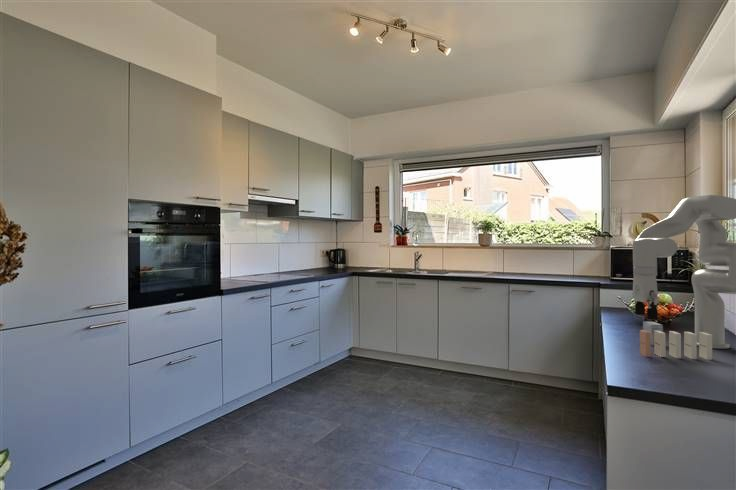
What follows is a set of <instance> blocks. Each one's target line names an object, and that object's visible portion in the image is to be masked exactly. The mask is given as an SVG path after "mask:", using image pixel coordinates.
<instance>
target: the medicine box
mask: <svg viewBox="0 0 736 490" xmlns="http://www.w3.org/2000/svg"><path fill="white" fill-rule="evenodd" d="M642 330H645V331H648V332H650V346H654V331H661V332H664V326H663V324H661V323H658V322H655V321H642Z"/></svg>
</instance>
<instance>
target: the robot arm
mask: <svg viewBox="0 0 736 490" xmlns="http://www.w3.org/2000/svg"><path fill="white" fill-rule="evenodd" d="M730 220H731V221H732V220H736V198H735V197H731V196H730V197H729V196H724V195H723V196H722V195H718V194H717V195H716V194H706V195H697V196H688V197H684V198H683V199H681V201H679V203H678V204H677V205H676V206H675V207H674V208H673V210H672V211H671V212H670V213H669V214H668V216H667V217H665V218H664V219H662V220H660V221H658V222H655V223H654V224H651V225H649V227H646V228H645V229H643V230H642V231H641V232H640V233H639V235H638V236H637V237H636V238H635V239H634V240H633V241H632V270H633V271H632V272H633V273H632V275H633V278H632V279H633V280H632V299H633V300H634V305H635V306H634V310H635V315H640V316H641V315H643V316H644V315H646V319H648V320H658V308H659V307H658V305H659V300H660V298H659V294H658V282H657V276H658V258H671V257H672V256H675V254H676V253H677V251H678V244H677V242H676V241H675V240H674V239H672V238H673V237H676V236H679V235H682V234H685V233H687V232H688V231H689V230H690V229H691V227H692V226H693V225H694V223H695V224H696V226H697V228H698V230H699V233H700V234H699V235H700V236H699V245H698V261H699V263H700V264H702V265H704V266H709V267H710V266H711V267H728V269H718V268H717V269H716V268H702V269H697V270H695V271H693V273H692V275H691V285H692V290H693V295H694V334H696V347H697V346H698V347H699V332H705V333H708V334H711V335H712V349H718V350H720V349H721V350H723V349H724V350H725V349H726V350H727V349H730V348H731V345H730V344H729V343H727V342H726V341H725V339H726V336H725V335H726V333H725V332H726V331H725V325H726V324H725V320H726V319H725V318H726V317H725V316H726V315H725V312H726V311H725V309H726V308H725V306H726V305H725V302H724V300H723V298H722V297H721V296H720V294H728V295H736V242H728V243H727V236H728V235H727V233H728V232H727V229H726V227H725V226H724V225H723V224H722V223H721V222H720V221H730ZM645 303H646V304H645ZM646 305H647V308H646Z"/></svg>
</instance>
